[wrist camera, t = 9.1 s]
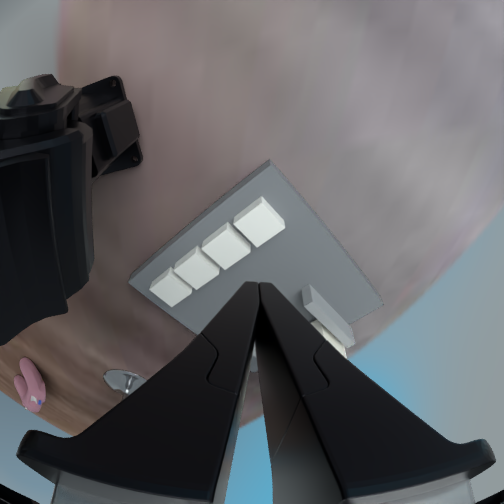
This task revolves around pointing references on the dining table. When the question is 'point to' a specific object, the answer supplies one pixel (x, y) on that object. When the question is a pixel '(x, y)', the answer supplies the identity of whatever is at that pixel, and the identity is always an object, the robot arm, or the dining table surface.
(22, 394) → the pink toy figurine
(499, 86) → the dining table surface
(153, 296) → the keyboard deck
